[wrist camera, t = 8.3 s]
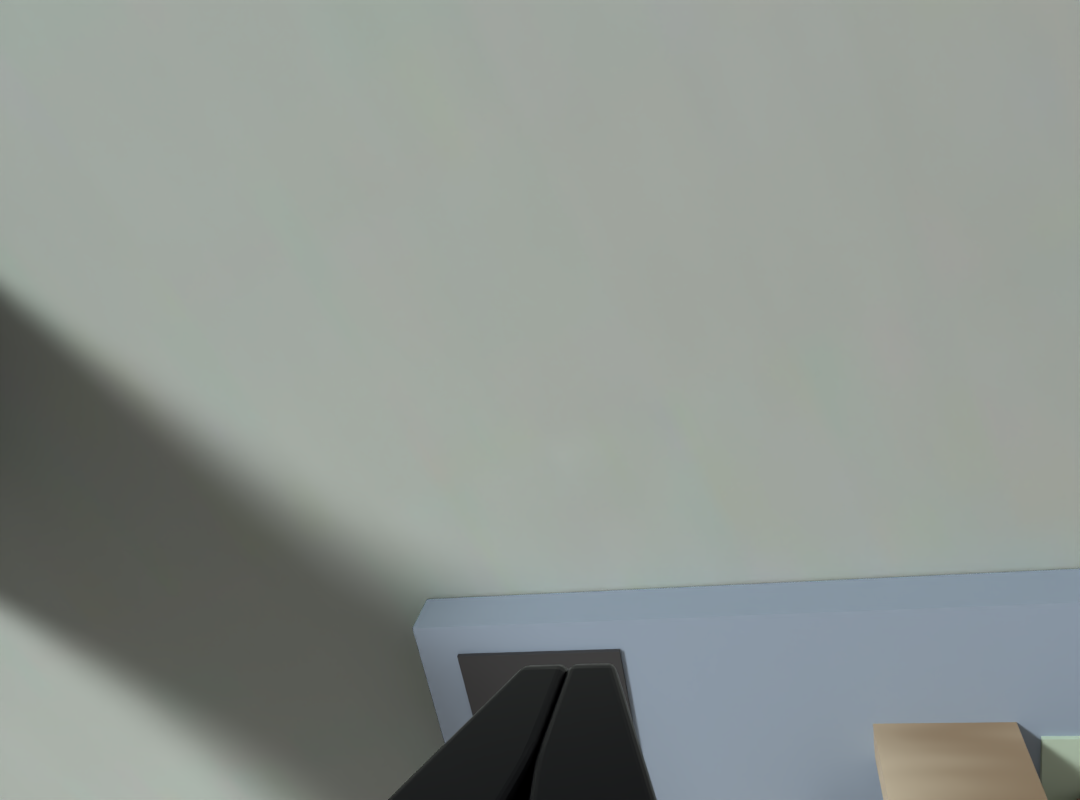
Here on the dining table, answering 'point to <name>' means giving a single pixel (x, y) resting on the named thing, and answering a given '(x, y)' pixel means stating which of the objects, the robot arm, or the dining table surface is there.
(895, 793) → the tunnel
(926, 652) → the pale blue flat board
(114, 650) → the dining table surface
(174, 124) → the dining table surface
